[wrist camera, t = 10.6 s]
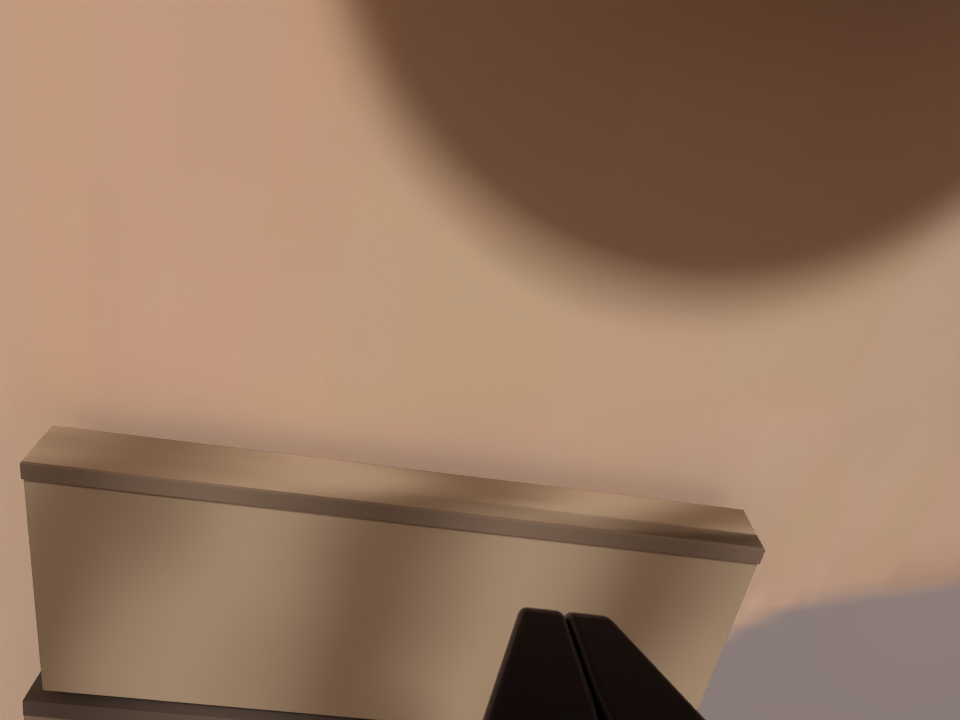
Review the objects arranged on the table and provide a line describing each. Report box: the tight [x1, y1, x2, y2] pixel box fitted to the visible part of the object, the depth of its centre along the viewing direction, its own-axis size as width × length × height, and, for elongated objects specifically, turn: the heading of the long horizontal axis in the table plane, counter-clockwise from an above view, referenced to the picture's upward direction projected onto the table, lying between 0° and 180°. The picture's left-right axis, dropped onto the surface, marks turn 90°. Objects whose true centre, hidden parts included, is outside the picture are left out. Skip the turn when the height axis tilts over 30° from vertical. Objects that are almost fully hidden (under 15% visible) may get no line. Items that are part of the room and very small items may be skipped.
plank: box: [20, 426, 765, 720], centre depth 21 cm, size 17×7×2 cm, turn 80°
